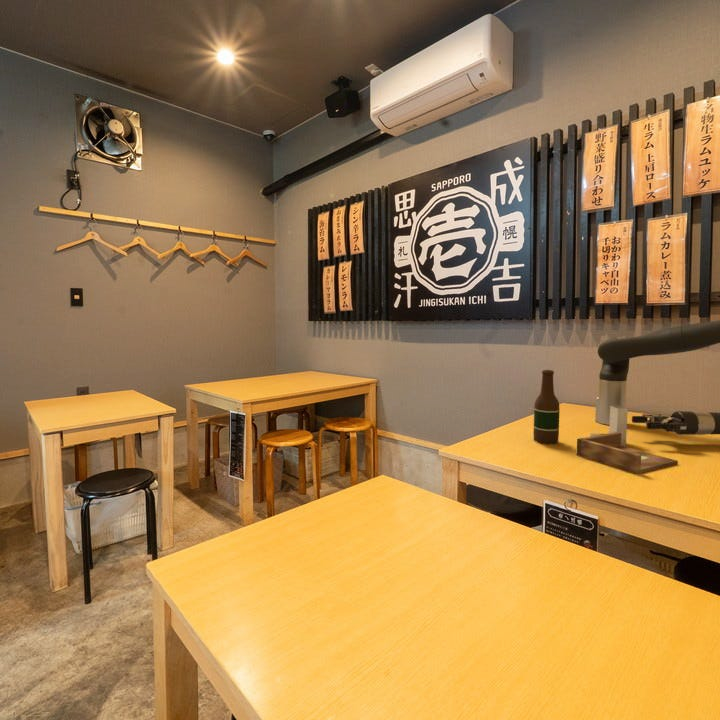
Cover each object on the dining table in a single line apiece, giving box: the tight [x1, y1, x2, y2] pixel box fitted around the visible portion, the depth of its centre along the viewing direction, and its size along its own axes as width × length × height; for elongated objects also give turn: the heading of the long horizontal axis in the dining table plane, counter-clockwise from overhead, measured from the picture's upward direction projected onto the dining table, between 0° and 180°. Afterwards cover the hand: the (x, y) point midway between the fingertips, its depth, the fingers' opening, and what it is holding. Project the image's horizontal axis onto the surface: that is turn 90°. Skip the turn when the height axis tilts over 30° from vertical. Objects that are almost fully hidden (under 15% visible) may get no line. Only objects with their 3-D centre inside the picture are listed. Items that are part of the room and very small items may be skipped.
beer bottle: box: [533, 369, 561, 445], centre depth 143 cm, size 8×8×24 cm
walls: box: [576, 432, 641, 470], centre depth 124 cm, size 18×18×4 cm
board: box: [576, 445, 679, 475], centre depth 124 cm, size 18×18×1 cm
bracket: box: [589, 406, 629, 446], centre depth 141 cm, size 9×5×12 cm, turn 85°
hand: (639, 422), depth 140 cm, fingers open, 8 cm apart
